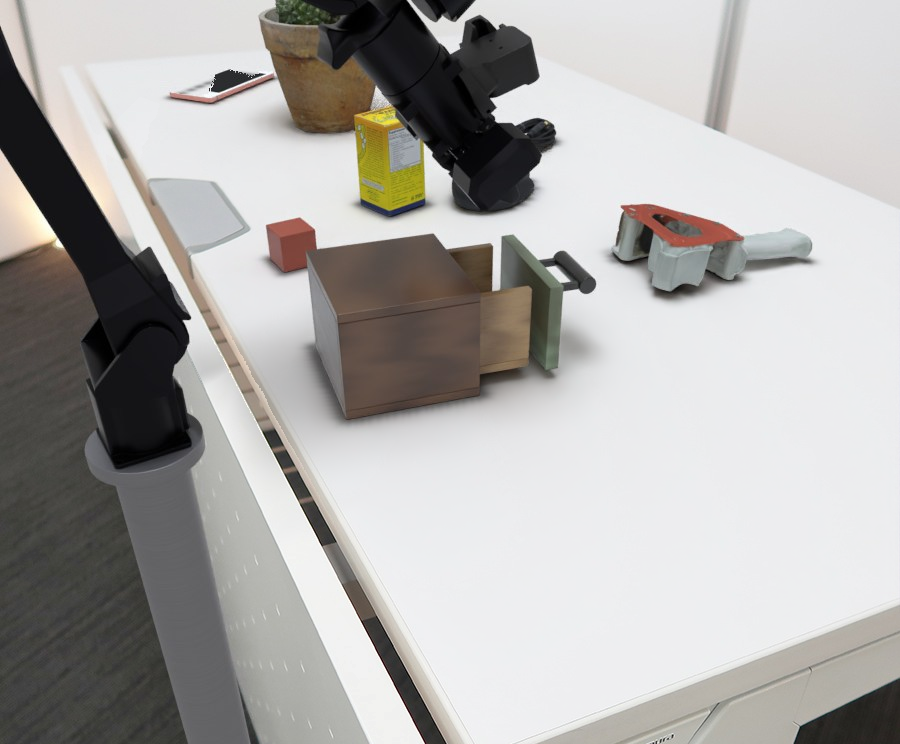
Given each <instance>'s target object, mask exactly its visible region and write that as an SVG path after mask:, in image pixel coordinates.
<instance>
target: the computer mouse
mask: <svg viewBox="0 0 900 744" xmlns="http://www.w3.org/2000/svg"><path fill="white" fill-rule="evenodd" d="M515 126H516V127H517V128H518V129H520V130H521V131H522V132H523V133H524V134H525V135H527V136H528V137H529V138H530V139H531V141H532V142H533V143H534V145H535V146H536V147H537V149H538V148H543V147H545V146H549V145H550V144H552V143H554V142H555V141H556V136H557V130H556V127H555V124H554V123H552V122H551V121H550V120H547V119H546V118H541V117H533V118H530V119H527V120H524V121H521V122H519V123H517V124H516V125H515ZM530 174H531V171H530V172H529V173H528V174H527V175H526V176H525V177H524V178H523V179H522V180H521V181H520V182H519V183H517V184H516V186H517V189H518V192H519V194H520V197H519V199H518V200H517V201H516V202H514V203H513V204H508V203H505V202H503V201H501V200H499V201H498V202H497V203H496V204H495V205H494V206H492V207H491V208H490V209H489V210H485V211H484V212H494V211H501V210H504V209H508V208H511V207H514V206H516V205H518V204H520V203H521V202H523V200H524V199H526V198H527V197H528V196H529V195H530V194H531V192H532V191H533V190H534V189H535V182H534V180H533V179H532V178H531V177H530V176H531V175H530ZM451 193H452V197H453V199H454V201H455V203H456V204H457V205H458V206H459V207H461V208H462V209H465V210H469V211H475V212H481V211H480V209H479V208H478V207H477V206H476V205H475V204H474V203H473V202H472V201H471V200H470V198H469V197H468V196H467V195H466V194H465V193H464V192H463V190H462V189H461V188H460V187H459V186H458V185H457V183H456V182H455V181H454V180H453V179H452V178H451Z"/></svg>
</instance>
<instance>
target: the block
mask: <svg viewBox="0 0 900 744" xmlns="http://www.w3.org/2000/svg"><path fill="white" fill-rule="evenodd" d="M265 230H266V238H267V245H268V252H269V260H270V261H271V262H272V263H274V264H275V265H276V266H277V267H278V268H279V269H280V270H281V271H282V272H283V273H288V272H293V271H296V270H300V269H303V268H304V269H305V268H308V267H307V257H306V251H308V250H315V249H318V246H317V238H316V237H317V235H316V228H314V227H312V226H311V224H309V223H308V222H306V221H305V220H304V219H303V218H301V217H300V216H299V217H294V218H291V219H290V218H289V219H285V220H281V221H277V222H272V223H268V224H265Z"/></svg>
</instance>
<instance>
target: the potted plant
mask: <svg viewBox="0 0 900 744" xmlns="http://www.w3.org/2000/svg"><path fill="white" fill-rule="evenodd" d="M274 4H275V5H274V7H271V8H267V9H265V10H263V11H262V12H260V13H259V14H258V15H257V17H258V21H259V25H260V32H261V35H262V38H263V43H264V47H265V49H266V50H267V51H268V52H269V54H270V59H271V62H272V66H273V69H274V73H275V74H276V78H277V81H278V84H279V85H280V88H281V91H282V94H283V96H284V100H285V102H286V105H287V108H288V111H289V113H290V117H291V120H292V122H293V124H294V125H295V127H296V128H298V129H299V130H302V131H304V132H307V133H309V132H310V133H319V134H341V133H346V132H351V131H355V121H354V115H357V114H361V113H365V112H369V111H371V109H372V104H373V101H374V97H375V92H376V88H377V86H376V85H375V84H374V83H373V82H372V80H371V79H370V78H369V77H368V76H367V74H366V73H365V72H364V71H363V70H362V68H361V67H360V66H359V65H358V64H357V62H356V61H355V60H354V59H353V58H352V57H350V59H349V60H348V61H347V62H346V63H345V64H344V65H343V66H342V67H341V68H340V69H339V70H334V69H333V68H331V67H330V66H328V65H326V64H325V63H323V62H322V61H320V60H319V59H318V58H317V51H318V43H319V31H318V25H319V24H334V23H337V22H338V21H339V20H340V18H341V17H342V16H343V15H334V14H331V13H328V12H326V11H323V10H321V9H319V8H317V7H314V6H312V5H310V4H308V3H305V2H303V1H301V0H275V2H274Z"/></svg>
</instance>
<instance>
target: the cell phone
mask: <svg viewBox="0 0 900 744" xmlns="http://www.w3.org/2000/svg"><path fill="white" fill-rule="evenodd" d="M230 70H231V69H229V68H227V69H224V70H222V71H218V72H216V73H217V74H216V73H214V74H215V77H214V78H215V79H216V80H215V79H214V82H213V81H212V82H213V83H214V85H213V87H212V88H211V93H210V88H209V93H208V94H204V97H200V96H193V95H186V94H179V93H172V92H169V96H170V97H171V98H174V99H175V98H176V99H183V100H190V101H196V102H202V103H214V102H216V101H219V100H222V99H223V98H225V97H226V98H227V97H229V96H231V95H233V94H236V93H238V92H240V91H243V90H245V89H248V88H251V87H253V86H255V85H258V84H260V83H264V82H265V81H267V80H270V79H272V78H274V77H275V71H271V70H263V69H262V70H263V71H259V74H255V76H254V75H253V76H251V75H250V76H249V75H248V74H247V75H246V73H244V74H243V73H242V72H239V73H238V71H236V73H235V71H233V70H231V71H230ZM240 73H241V74H240ZM257 73H258V72H257ZM248 76H249V77H248ZM251 77H252V78H251ZM261 77H262V78H261ZM258 78H259V79H258ZM255 79H257V80H255ZM253 80H255V81H253ZM251 81H252V82H251ZM249 82H250V83H249ZM244 84H245V85H244ZM211 86H212V84H211ZM202 96H203V95H202ZM207 97H208V98H207ZM211 97H212V98H211Z"/></svg>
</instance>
